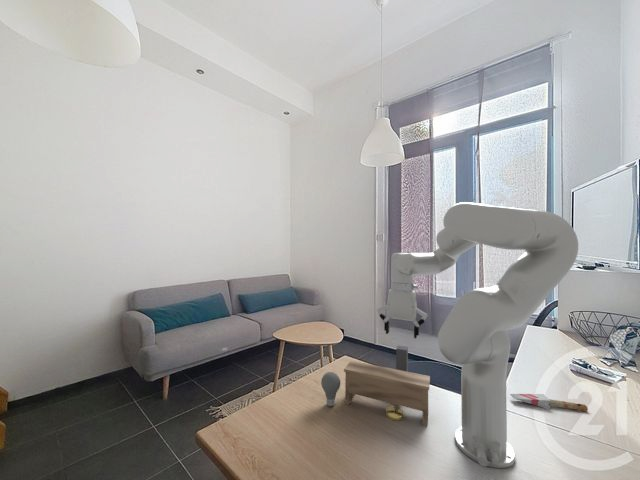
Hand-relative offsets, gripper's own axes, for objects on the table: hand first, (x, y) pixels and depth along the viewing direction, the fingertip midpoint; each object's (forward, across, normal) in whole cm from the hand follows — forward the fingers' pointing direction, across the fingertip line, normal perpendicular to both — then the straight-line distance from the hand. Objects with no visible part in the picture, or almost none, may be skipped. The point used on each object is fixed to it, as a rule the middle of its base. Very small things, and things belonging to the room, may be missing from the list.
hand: (401, 334), depth 94 cm
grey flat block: (+18, -1, +5) cm, 19 cm away
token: (+18, -1, +18) cm, 25 cm away
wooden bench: (+18, +2, +15) cm, 24 cm away
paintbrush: (+18, -44, -8) cm, 48 cm away
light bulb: (+18, +18, +21) cm, 34 cm away
